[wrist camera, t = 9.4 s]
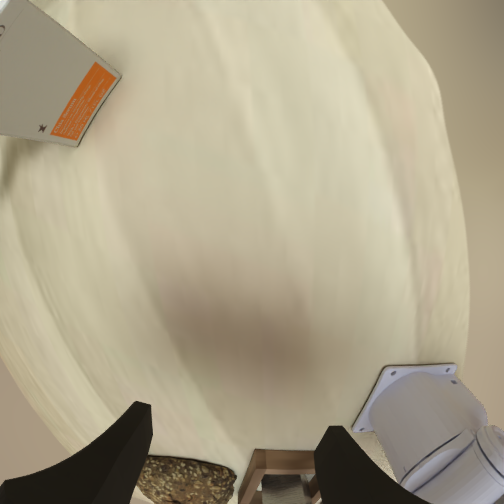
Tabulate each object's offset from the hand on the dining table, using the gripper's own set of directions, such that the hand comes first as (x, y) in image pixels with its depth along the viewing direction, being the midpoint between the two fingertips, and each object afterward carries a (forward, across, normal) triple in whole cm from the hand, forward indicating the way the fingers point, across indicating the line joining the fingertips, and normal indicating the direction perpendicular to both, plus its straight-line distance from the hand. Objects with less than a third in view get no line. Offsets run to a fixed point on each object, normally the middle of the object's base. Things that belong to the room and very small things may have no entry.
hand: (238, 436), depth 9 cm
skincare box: (+10, +14, -14) cm, 22 cm away
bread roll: (+10, +3, +23) cm, 26 cm away
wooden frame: (+9, -8, +19) cm, 23 cm away
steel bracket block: (+10, -8, +19) cm, 23 cm away
